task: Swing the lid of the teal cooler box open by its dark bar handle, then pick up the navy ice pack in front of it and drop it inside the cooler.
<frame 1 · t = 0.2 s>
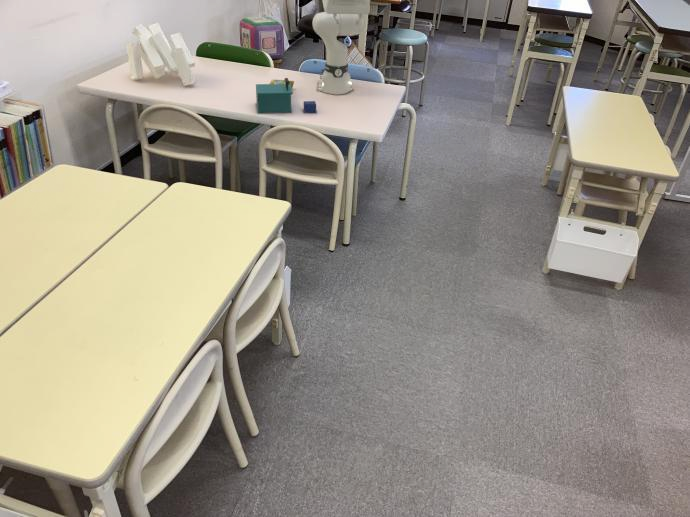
hand: (347, 24, 252), 39 cm above the table, tool pointing down, fingers open, 8 cm apart
puzzle game: (279, 94, 285), on the table
ice pack: (309, 111, 267), on the table
cooler: (273, 107, 268), on the table
pile of blocks: (164, 80, 293), on the table
cooler lid: (273, 84, 262), point 11 cm above the table, hinge at 0.0°
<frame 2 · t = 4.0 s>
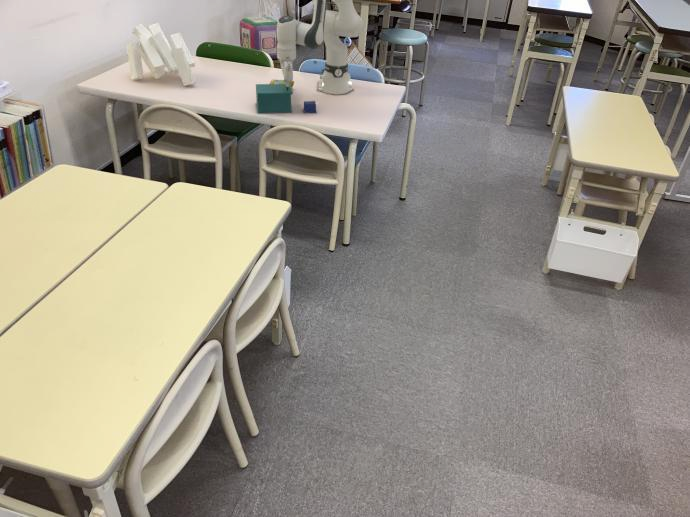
hand: (286, 84, 263), 12 cm above the table, tool pointing down, fingers closed on cooler lid, 5 cm apart
cooler lid: (273, 84, 262), point 11 cm above the table, hinge at -0.1°, touching gripper
everything else where it was.
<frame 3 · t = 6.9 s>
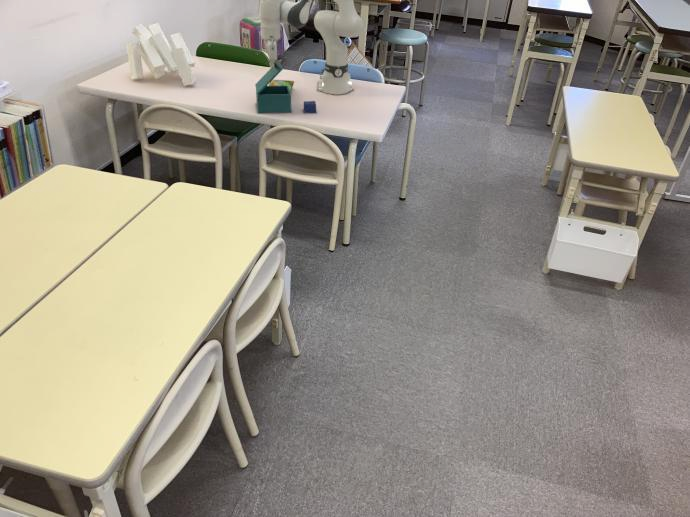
hand: (271, 64, 256), 21 cm above the table, tool pointing down, fingers closed on cooler lid, 5 cm apart
cooler lid: (265, 74, 258), point 17 cm above the table, hinge at 45.0°, touching gripper
everything else where it was.
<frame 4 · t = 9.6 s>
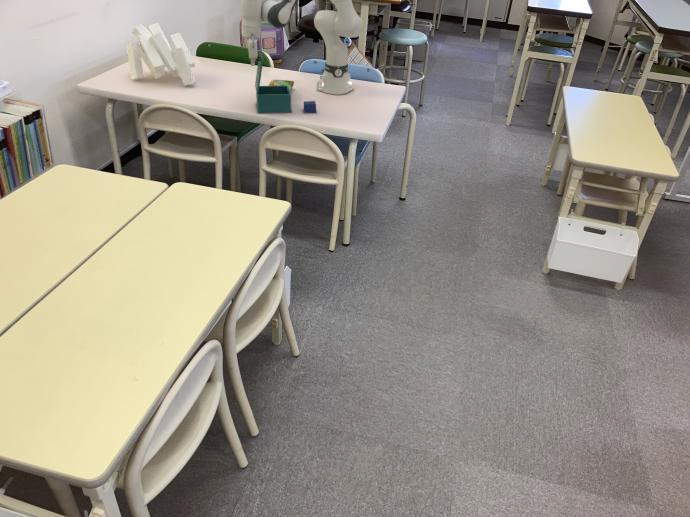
hand: (252, 63, 254), 22 cm above the table, tool pointing down, fingers closed on cooler lid, 5 cm apart
cooler lid: (254, 71, 256), point 18 cm above the table, hinge at 80.0°, touching gripper
everything else where it was.
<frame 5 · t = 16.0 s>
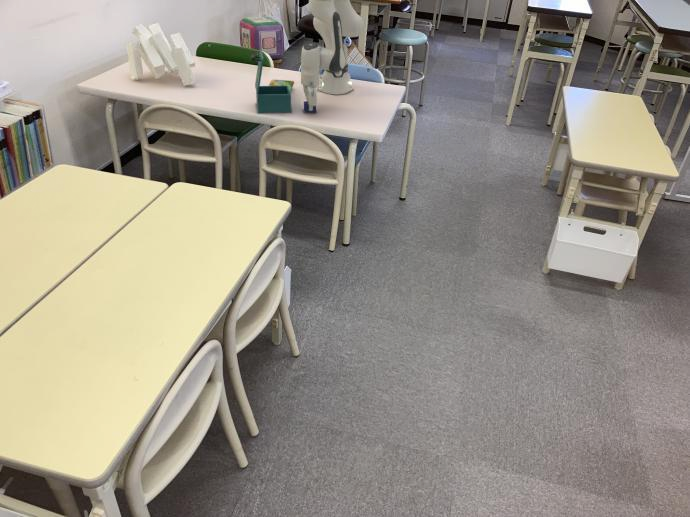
hand: (309, 108, 266), 2 cm above the table, tool pointing down, fingers closed on ice pack, 4 cm apart
ice pack: (309, 111, 267), on the table, touching gripper
cooler lid: (254, 71, 256), point 18 cm above the table, hinge at 79.3°
everything else where it was.
when the fingers open (10 cm above the table, at t = 21.3 s): ice pack drops 7 cm, resting on cooler.
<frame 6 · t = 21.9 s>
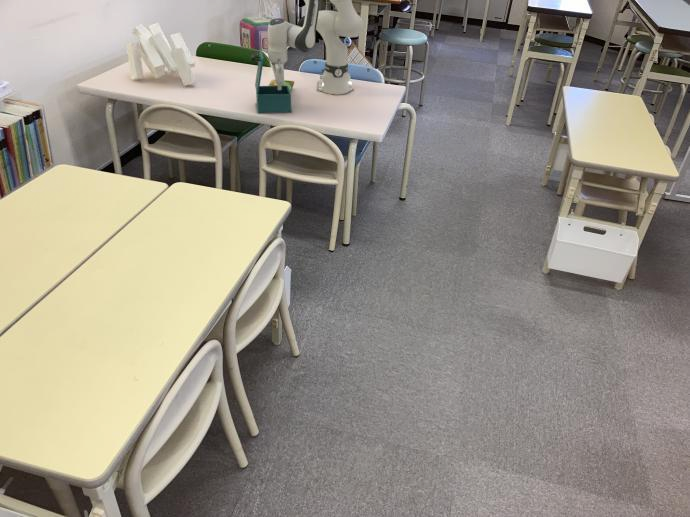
hand: (278, 86, 263), 11 cm above the table, tool pointing down, fingers open, 8 cm apart
ice pack: (278, 106, 268), point 1 cm above the table, touching cooler
everything else where it was.
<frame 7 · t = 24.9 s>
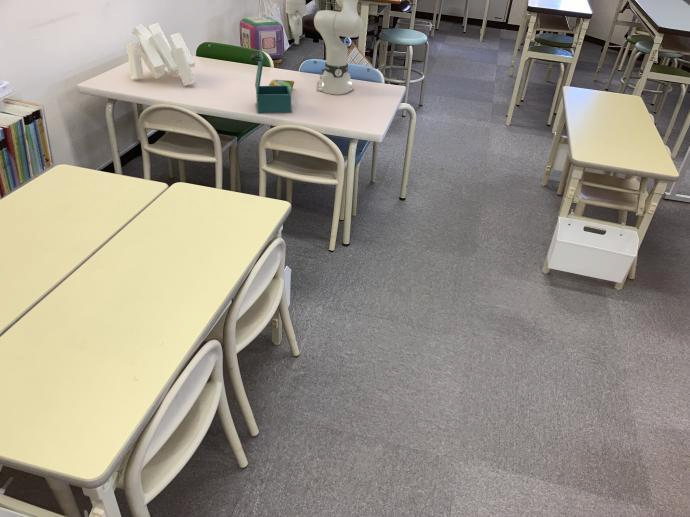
hand: (295, 40, 253), 31 cm above the table, tool pointing down, fingers open, 8 cm apart
nothing on the table moved.
at the end: cooler lid at +79° (first picture: +0°); ice pack inside the target area in the cooler (2.5 cm from its centre), point 0.8 cm above the cooler's base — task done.
